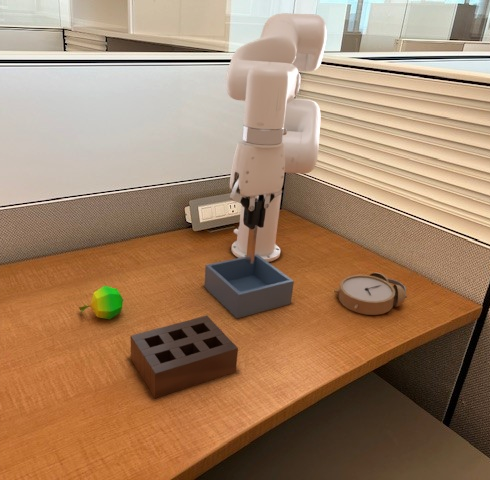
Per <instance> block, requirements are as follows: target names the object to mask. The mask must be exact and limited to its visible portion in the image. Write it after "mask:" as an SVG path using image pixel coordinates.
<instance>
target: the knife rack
mask: <svg viewBox="0 0 490 480" xmlns="http://www.w3.org/2000/svg"><path fill="white" fill-rule="evenodd" d="M238 351H239V347H238V346H237V345H236V344H235V343H234V342H233V341H232V340H231V338H229V337H228V336H227V334H226V333H224V331H223V330H222V329H221V328H220V327H219V326H218V325H217V324H216V323H215V322H214V321H213V320H212V319H211V317H209V315H203V316H199V317H196V318H192V319H188V320H185V321H180V322H177V323H174V324H169V325H165V326H160V327H158V328H155V329H151V330H145V331H142V332H139V333H135V334H132V335H130V360H131V362H132V363H133V365H134V367H135V369H136V370H137V371H138V373H139V375H140V376H141V378H142V380H143V381H144V383H145V384H146V386H147V388H148V390H149V391H150V393H151V394H152V396H153V397H154V399H158V398H161V397H164V396H167V395H170V394H173V393H176V392H179V391H182V390H185V389H188V388H191V387H194V386H197V385H200V384H203V383H206V382H210V381H211V380H215V379H218V378H221V377H224V376H227V375H231V374H234V373H236V372H237V365H238V364H237V363H238V353H239V352H238Z"/></svg>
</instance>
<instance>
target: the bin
mask: <svg viewBox="0 0 490 480" xmlns="http://www.w3.org/2000/svg"><path fill="white" fill-rule="evenodd" d="M294 283H295V281H294V280H293V279H292V278H291V277H289V276H288V275H286V274H285V273H284V272H282V271H281V270H279V268H277V267H276V266H274V265H272V263H270V262H267V261H266V260H264V259H263V258H262V257H260V256H259V255H257V254H255V255H254V264H251V265H250V264H249V263H248V262H246V257H241V258H238V257H236V258H232V259H228V260H223V261H222V260H221V261H218V262H214V263H213V262H212V263H209V264H205V268H204V284H203V285H204V288H205V290H206V291H208V292H209V293H210V294H211V295H212V296H213V297H214V298H215V299H216V300H217V301H218V302H219V303H220V304H221V305H222V306H223V307H224V308H225V309H226V310H227V311H228V312H229V313H230V314H231V315H233V316H234V318H236V319H240V318H244V317H247V316H252V315H254V314H258V313H262V312H265V311H269V310H273V309H277V308H281V307H284V306H288V305H291V303H292V297H293V291H294V285H295V284H294Z"/></svg>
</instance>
